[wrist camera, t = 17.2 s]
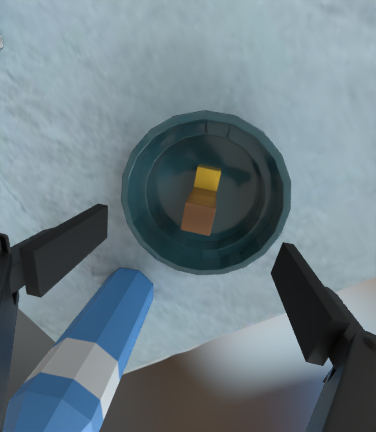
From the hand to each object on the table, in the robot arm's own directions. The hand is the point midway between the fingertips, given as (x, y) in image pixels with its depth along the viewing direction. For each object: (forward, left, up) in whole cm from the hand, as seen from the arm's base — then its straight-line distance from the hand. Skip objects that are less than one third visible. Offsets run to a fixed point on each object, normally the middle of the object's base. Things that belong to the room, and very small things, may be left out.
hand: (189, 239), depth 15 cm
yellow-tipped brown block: (0, 0, -15) cm, 15 cm away
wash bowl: (0, 0, -16) cm, 16 cm away
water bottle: (+21, -10, -16) cm, 28 cm away
